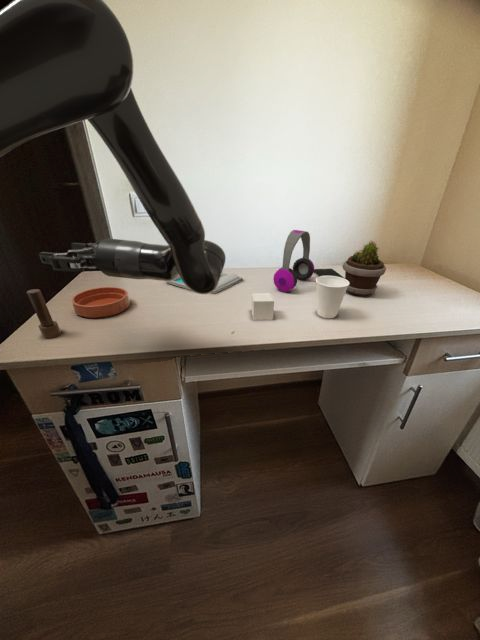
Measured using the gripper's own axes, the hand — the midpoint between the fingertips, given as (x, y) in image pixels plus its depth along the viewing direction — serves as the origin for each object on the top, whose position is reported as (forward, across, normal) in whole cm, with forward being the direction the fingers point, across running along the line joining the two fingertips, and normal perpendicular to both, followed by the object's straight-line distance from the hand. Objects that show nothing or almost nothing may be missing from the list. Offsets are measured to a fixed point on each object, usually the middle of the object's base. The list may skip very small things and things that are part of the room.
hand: (58, 252), depth 60 cm
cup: (-60, -31, +21) cm, 71 cm away
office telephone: (-13, -49, +22) cm, 55 cm away
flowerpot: (-72, -54, +21) cm, 93 cm away
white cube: (-40, -25, +22) cm, 52 cm away
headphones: (-48, -55, +21) cm, 76 cm away
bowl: (+8, -18, +22) cm, 29 cm away
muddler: (+11, 0, +22) cm, 24 cm away
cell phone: (-62, -68, +21) cm, 94 cm away
